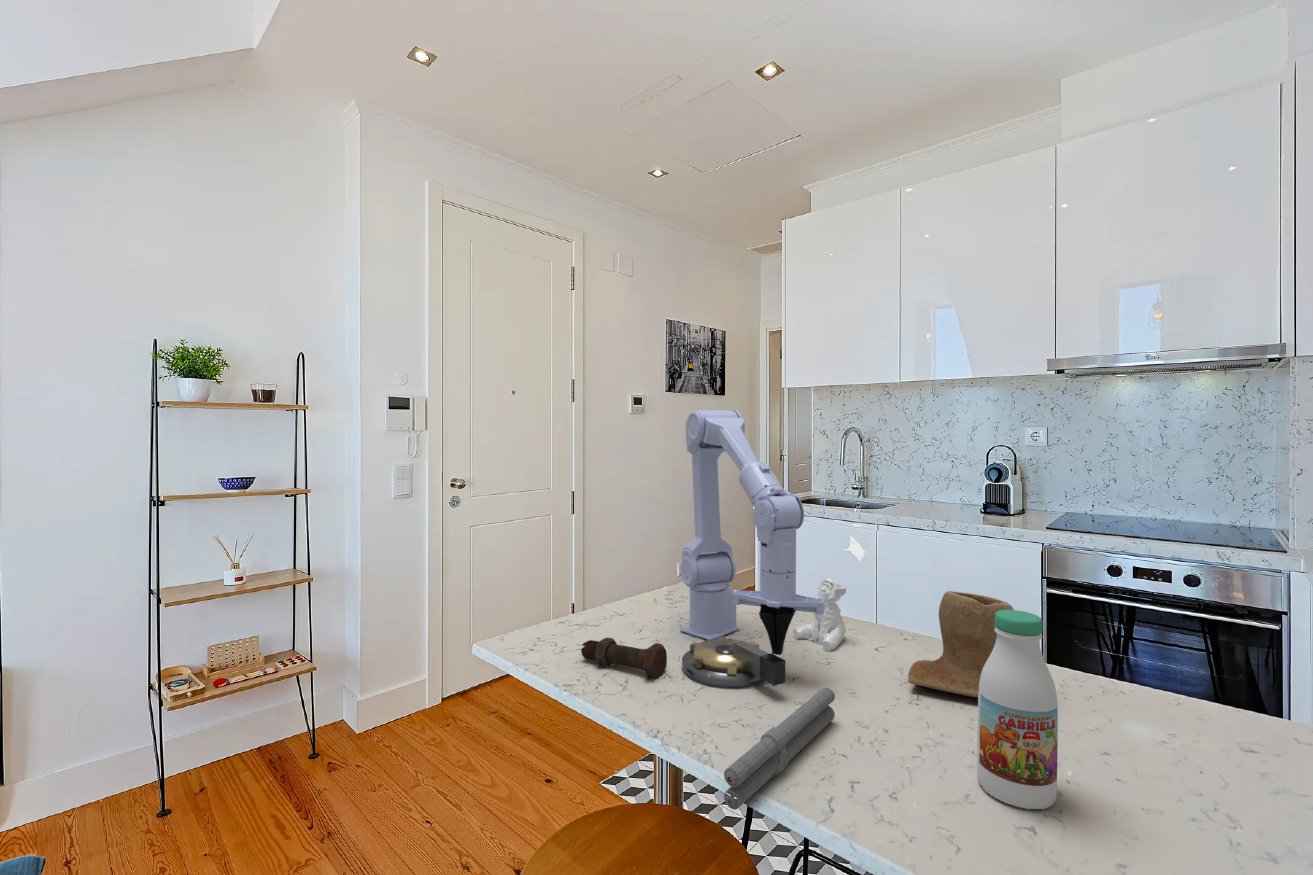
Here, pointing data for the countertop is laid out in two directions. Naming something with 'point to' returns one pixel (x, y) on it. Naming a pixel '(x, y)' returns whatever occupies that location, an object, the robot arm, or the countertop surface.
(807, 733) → the metal rod assembly
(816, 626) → the seated beast figurine
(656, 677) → the bolt
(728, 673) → the brass turntable dial
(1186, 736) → the countertop surface
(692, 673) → the disc
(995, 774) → the milk bottle
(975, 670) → the brown boot
